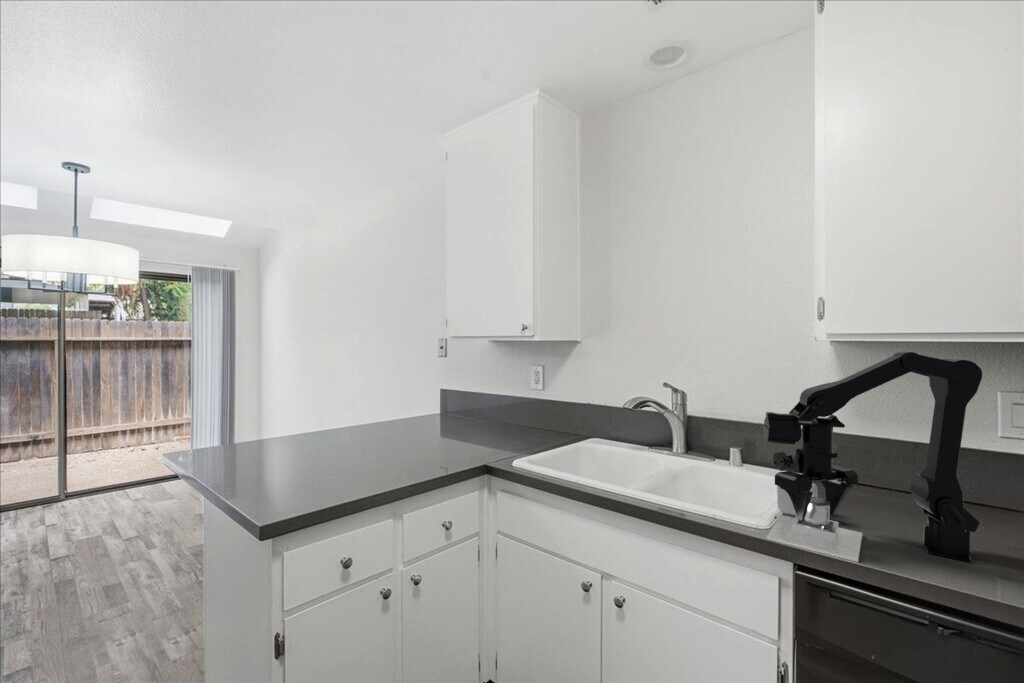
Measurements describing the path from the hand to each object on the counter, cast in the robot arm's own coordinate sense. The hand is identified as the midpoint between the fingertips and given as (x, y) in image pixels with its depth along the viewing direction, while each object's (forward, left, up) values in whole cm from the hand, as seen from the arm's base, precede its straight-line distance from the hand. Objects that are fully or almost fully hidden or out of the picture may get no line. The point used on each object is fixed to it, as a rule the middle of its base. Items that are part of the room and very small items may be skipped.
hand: (815, 516), depth 103 cm
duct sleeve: (0, 0, -4) cm, 4 cm away
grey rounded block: (+5, -16, -5) cm, 17 cm away
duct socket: (0, 0, -4) cm, 4 cm away
